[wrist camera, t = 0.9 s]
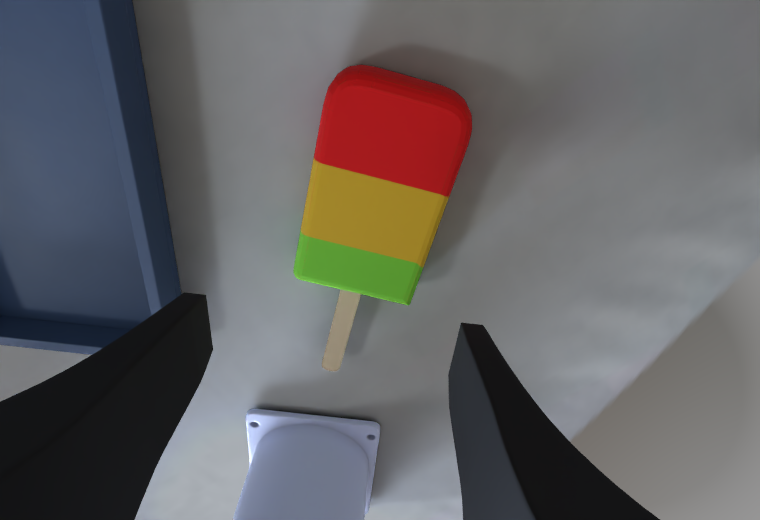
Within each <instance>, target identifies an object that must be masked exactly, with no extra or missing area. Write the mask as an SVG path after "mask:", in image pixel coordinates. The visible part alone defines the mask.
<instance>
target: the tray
mask: <svg viewBox="0 0 760 520" xmlns="http://www.w3.org/2000/svg"><path fill="white" fill-rule="evenodd" d="M180 295H181V289H180V283H179V277H178V271H177V265H176V259H175V253H174V247H173V241H172V236H171V230H170V224H169V218H168V212H167V206H166V200H165V194H164V188H163V182H162V176H161V170H160V164H159V158H158V152H157V146H156V140H155V134H154V128H153V122H152V116H151V111H150V105H149V99H148V93H147V87H146V81H145V75H144V69H143V63H142V57H141V51H140V45H139V39H138V33H137V27H136V21H135V15H134V9H133V3H132V0H0V345H7V346H16V347H25V348H34V349H44V350H53V351H62V352H71V353H80V354H90V355H93V354H94V353H96V352H97V351H99V350H100V349H102V348H104V347H105V346H107V345H108V344H110V343H112V342H113V341H115V340H116V339H118V338H119V337H121V336H123V335H124V334H126V333H127V332H128V331H130V330H131V329H133V328H134V327H136V326H137V325H139V324H140V323H142V322H143V321H144V320H146V319H147V318H149V317H150V316H152V315H153V314H154V313H156V312H157V311H159V310H160V309H161V308H163V307H164V306H166V305H167V304H168V303H170V302H171V301H173V300H174V299H176V298H177V297H178V296H180Z"/></svg>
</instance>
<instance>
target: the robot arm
mask: <svg viewBox="0 0 760 520" xmlns="http://www.w3.org/2000/svg"><path fill="white" fill-rule="evenodd" d="M212 351H213V345H212V338H211V331H210V323H209V316H208V308H207V301H206V295H201V294H192V293H183V294H182V295H180V296H178V297H177V298H176V299H174V300H173V301H171V302H170V303H168V304H167V305H166V306H164V307H163V308H161V309H160V310H159V311H157V312H156V313H154V314H153V315H152V316H150V317H149V318H147V319H146V320H144V321H143V322H142V323H140V324H139V325H137V326H136V327H134V328H133V329H131V330H130V331H128V332H127V333H126V334H124V335H123V336H121V337H119V338H118V339H116V340H115V341H113V342H112V343H110V344H108V345H107V346H105V347H104V348H102V349H100V350H99V351H97V352H96V353H94V354H93V355H91V356H89V357H88V358H86V359H84V360H83V361H81V362H79V363H77V364H76V365H74V366H72V367H70V368H69V369H67V370H65V371H63V372H61V373H59V374H57V375H55V376H53V377H52V378H50V379H48V380H46V381H44V382H42V383H40V384H38V385H36V386H33V387H31V388H29V389H27V390H25V391H23V392H21V393H18V394H16V395H14V396H12V397H10V398H8V399H5V400H3V401H1V402H0V520H134V519H135V517H136V514H137V512H138V509H139V507H140V504H141V501H142V499H143V497H144V494H145V492H146V489H147V487H148V485H149V482H150V480H151V477H152V475H153V473H154V470H155V468H156V466H157V464H158V462H159V460H160V458H161V456H162V453H163V451H164V450H165V448H166V446H167V444H168V442H169V440H170V438H171V437H172V435H173V433H174V431H175V429H176V427H177V425H178V424H179V422H180V420H181V418H182V416H183V414H184V413H185V411H186V409H187V407H188V405H189V403H190V401H191V399H192V398H193V396H194V394H195V392H196V390H197V388H198V386H199V384H200V382H201V380H202V378H203V375H204V372H205V370H206V367H207V365H208V362H209V359H210V356H211V354H212ZM448 376H449V409H450V416H451V423H452V430H453V437H454V443H455V450H456V457H457V463H458V470H459V477H460V483H461V493H462V504H463V520H660V519H658V518H657V517H656V516H654V515H653V514H652V513H650V512H649V511H648V510H646V509H645V508H643V507H642V506H641V505H640V504H639V503H637V502H636V501H635V500H634V499H632V498H631V497H630V496H629V495H627V494H626V493H625V492H624V491H623V490H621V489H620V488H619V487H618V486H616V485H615V484H614V483H613V482H612V481H611V480H610V479H609V478H607V477H606V476H605V475H604V474H603V473H602V472H601V471H599V470H598V469H597V468H596V467H595V466H594V465H593V464H592V463H591V462H590V461H589V460H588V459H587V458H586V457H585V456H583V454H581V453H580V452H579V451H578V450H577V449H576V448H575V447H574V446H573V445H572V444H571V443H570V442H569V441H568V440H567V438H566V437H565V436H564V435H563V434H562V433H561V432H560V431H559V430H558V429H557V428H556V426H555V425H554V424H553V423H552V422H551V421H550V420H549V419H548V417H547V416H546V415H545V414H544V413H543V411H542V410H541V409H540V408H539V406H538V405H537V404H536V403H535V401H534V400H533V399H532V397H531V396H530V395H529V394H528V392H527V391H526V389H525V388H524V387H523V385H522V384H521V383H520V381H519V380H518V378H517V377H516V375H515V374H514V373H513V371H512V370H511V368H510V367H509V365H508V364H507V362H506V361H505V359H504V358H503V356H502V355H501V353H500V351H499V350H498V348H497V347H496V345H495V343H494V342H493V340H492V338H491V337H490V335H489V333H488V332H487V330H486V329H485V327H484V326H483V325H478V324H469V323H461V325H460V329H459V333H458V338H457V342H456V346H455V350H454V354H453V358H452V362H451V366H450V370H449V375H448ZM246 427H247V438H248V449H249V459H250V468H249V471H248V474H247V477H246V480H245V483H244V486H243V489H242V492H241V495H240V498H239V502H238V505H237V508H236V511H235V514H234V517H233V520H364V517H365V514H367V513H368V511H369V504H370V498H371V491H372V484H373V477H374V470H375V464H376V457H377V450H378V443H379V437H380V425H379V424H378V423H376V422H373V421H365V420H356V419H346V418H337V417H328V416H319V415H310V414H300V413H291V412H282V411H273V410H263V409H250V410H249V411H248V412H247V414H246Z"/></svg>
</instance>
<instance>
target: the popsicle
mask: <svg viewBox="0 0 760 520" xmlns="http://www.w3.org/2000/svg"><path fill="white" fill-rule="evenodd" d="M471 132H472V116H471V112H470V110H469V108H468V106H467V104H466V102H465V100H464V99H463V98H462V97H461V96H460V95H459V94H458V93H456V92H455V91H454V90H451V89H449V88H447V87H444V86H442V85H439V84H435V83H432V82H428V81H425V80H421V79H417V78H414V77H410V76H407V75H403V74H400V73H396V72H392V71H389V70H385V69H382V68H378V67H373V66H367V65H356V66H349V67H347V68H346V69H344V70H343V71H341V72H340V73H338V74H337V76H336V77H335V78H334V80H333V81H332V83H331V84H330V86H329V87H328V91H327V94H326V97H325V101H324V104H323V110H322V115H321V121H320V126H319V132H318V137H317V143H316V148H315V154H314V159H313V165H312V170H311V176H310V181H309V187H308V192H307V198H306V203H305V209H304V214H303V220H302V225H301V231H300V236H299V242H298V247H297V253H296V259H295V264H294V275H295V277H296V278H297V279H300V280H303V281H307V282H312V283H316V284H320V285H324V286H329V287H333V288H337V289H341V290H340V294H339V298H338V302H337V306H336V310H335V314H334V317H333V321H332V325H331V329H330V333H329V337H328V341H327V345H326V349H325V353H324V357H323V361H322V367H323V368H324V369H326V370H329V371H338V370H339V369H340V366H341V363H342V359H343V356H344V352H345V349H346V345H347V342H348V338H349V335H350V331H351V328H352V324H353V321H354V317H355V314H356V310H357V307H358V303H359V300H360V297H361V294H362V295H367V296H371V297H375V298H379V299H384V300H388V301H392V302H396V303H400V304H405V305H410V303H411V300H412V297H413V295H414V292H415V289H416V286H417V284H418V281H419V278H420V275H421V273H422V270H423V267H424V264H425V262H426V259H427V256H428V254H429V251H430V248H431V245H432V243H433V240H434V237H435V234H436V232H437V229H438V226H439V223H440V221H441V218H442V215H443V212H444V210H445V207H446V204H447V201H448V199H449V196H450V193H451V190H452V188H453V185H454V182H455V180H456V177H457V174H458V171H459V169H460V166H461V163H462V160H463V158H464V155H465V152H466V149H467V147H468V144H469V140H470V136H471Z"/></svg>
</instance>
